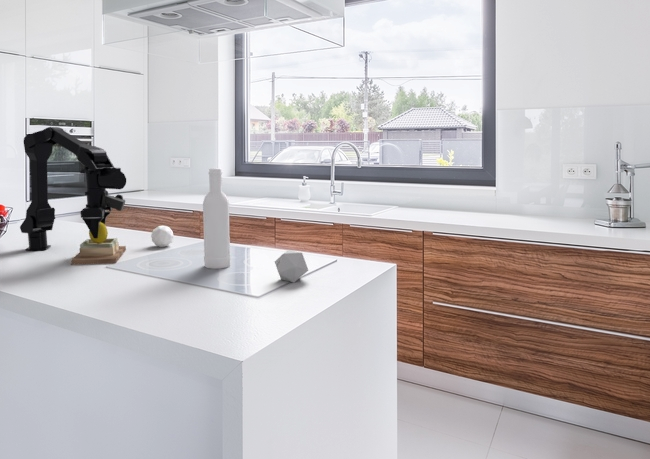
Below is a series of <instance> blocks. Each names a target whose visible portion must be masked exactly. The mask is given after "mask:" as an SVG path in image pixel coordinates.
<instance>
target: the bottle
mask: <svg viewBox="0 0 650 459" xmlns="http://www.w3.org/2000/svg"><path fill="white" fill-rule="evenodd" d="M208 169H209V170H208V175H209V177H208V178H209V192H207V194H206V195H205V196H204V199H203V202H202V212H203V213H202V216H203V218H202V220H203V247H204V248H203V249H204V250H203V252H204V254H203V255H204V256H203V262H204V267H205V268H207V269H213V270H219V269H227V268H229V267H230V266H231V243H230V241H231V239H230V232H231V231H230V202H229V199H228V196H227V195H226V193H225V192H223V191H222V190H223V187H222V186H223V185H222V184H223V183H222V181H223V180H222V179H223V177H222V174H223V172H222V168H220V167H210V168H208Z"/></svg>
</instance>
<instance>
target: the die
mask: <svg viewBox="0 0 650 459" xmlns="http://www.w3.org/2000/svg"><path fill="white" fill-rule="evenodd" d="M274 264H275V267H276V269H277V272H278V276H279V278H280V280H282V281H286V280H287V282H291V283H296V282H297V281H298V280H299V279H300V278H301V277H302V276H304V275H305V274H306V273H307V272H308V271H309V269H308V265H307V263H306V260H305V257H304V254H303V252H300V251H296V250H292V249H287V251H285V252H284V253H282V254H281V255H280V256H279V257H278V258H277V259H276V260H274Z"/></svg>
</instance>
